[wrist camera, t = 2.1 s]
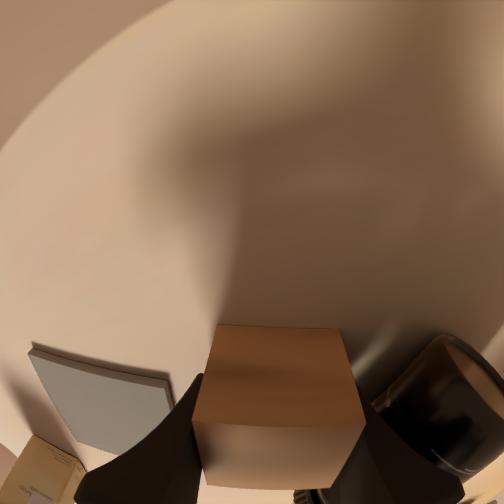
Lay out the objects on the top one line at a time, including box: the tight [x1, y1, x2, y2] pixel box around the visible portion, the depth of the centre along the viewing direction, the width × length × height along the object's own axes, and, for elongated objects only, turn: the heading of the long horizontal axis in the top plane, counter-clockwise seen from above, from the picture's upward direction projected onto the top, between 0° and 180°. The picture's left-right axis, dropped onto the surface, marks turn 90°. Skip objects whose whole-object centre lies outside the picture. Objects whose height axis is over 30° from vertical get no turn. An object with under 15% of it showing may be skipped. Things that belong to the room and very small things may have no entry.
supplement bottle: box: [293, 334, 504, 504], centre depth 10 cm, size 7×7×12 cm
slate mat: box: [28, 348, 174, 456], centre depth 15 cm, size 10×10×1 cm
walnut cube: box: [192, 324, 366, 490], centre depth 10 cm, size 5×5×5 cm
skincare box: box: [0, 435, 86, 504], centre depth 14 cm, size 6×4×12 cm
